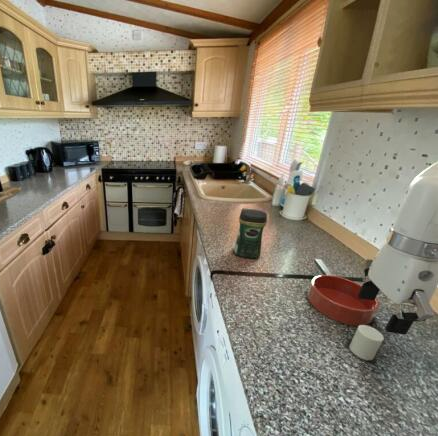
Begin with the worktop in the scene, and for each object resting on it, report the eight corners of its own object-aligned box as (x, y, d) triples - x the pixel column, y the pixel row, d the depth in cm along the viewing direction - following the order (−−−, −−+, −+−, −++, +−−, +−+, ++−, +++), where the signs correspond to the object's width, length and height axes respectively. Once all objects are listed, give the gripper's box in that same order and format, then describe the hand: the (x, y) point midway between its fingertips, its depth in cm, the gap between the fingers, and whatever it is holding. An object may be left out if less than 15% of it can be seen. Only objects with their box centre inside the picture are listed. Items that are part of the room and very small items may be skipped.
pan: (354, 292, 75) (359, 278, 73) (386, 330, 62) (393, 315, 60) (300, 284, 79) (304, 271, 77) (319, 319, 65) (324, 305, 63)
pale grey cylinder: (366, 345, 58) (376, 326, 55) (378, 362, 54) (388, 343, 51) (345, 341, 59) (354, 323, 56) (355, 358, 55) (365, 338, 52)
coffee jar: (258, 250, 99) (267, 207, 91) (260, 260, 92) (270, 215, 84) (233, 246, 101) (240, 205, 94) (233, 256, 94) (241, 212, 87)
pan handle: (319, 262, 85) (320, 259, 84) (333, 279, 76) (334, 276, 75) (313, 261, 85) (314, 258, 85) (325, 278, 76) (327, 275, 76)
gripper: (488, 273, 37) (434, 353, 43) (405, 227, 52) (374, 291, 59) (428, 266, 38) (384, 344, 45) (364, 223, 54) (339, 286, 60)
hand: (379, 314), depth 52 cm, fingers open, 9 cm apart
